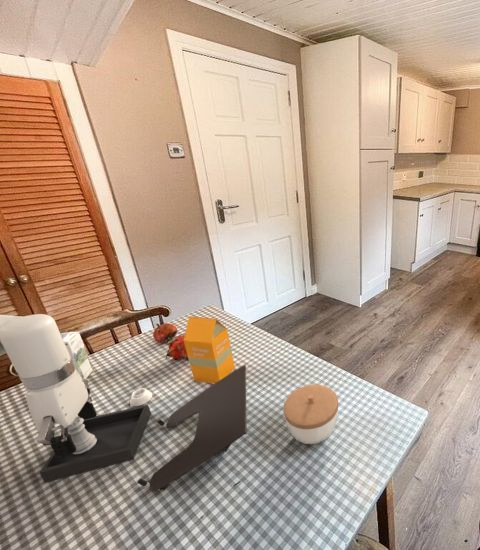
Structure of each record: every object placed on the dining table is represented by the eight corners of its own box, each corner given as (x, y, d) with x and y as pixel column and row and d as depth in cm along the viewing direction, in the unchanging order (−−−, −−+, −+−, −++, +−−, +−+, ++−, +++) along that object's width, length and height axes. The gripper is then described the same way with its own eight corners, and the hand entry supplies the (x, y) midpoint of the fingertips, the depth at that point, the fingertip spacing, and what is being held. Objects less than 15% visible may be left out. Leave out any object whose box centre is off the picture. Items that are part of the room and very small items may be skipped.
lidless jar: (156, 396, 85) (144, 391, 86) (154, 387, 84) (141, 383, 85) (139, 409, 80) (126, 404, 82) (136, 400, 79) (123, 396, 81)
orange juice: (220, 384, 89) (207, 325, 82) (193, 381, 90) (178, 323, 83) (235, 367, 96) (224, 312, 89) (210, 364, 98) (197, 309, 90)
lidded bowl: (332, 405, 82) (330, 372, 78) (346, 444, 71) (344, 408, 67) (284, 419, 77) (279, 385, 73) (291, 463, 66) (286, 425, 62)
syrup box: (72, 373, 94) (54, 333, 88) (94, 370, 95) (78, 330, 90) (61, 386, 88) (41, 344, 83) (85, 382, 90) (67, 341, 85)
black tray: (44, 483, 62) (38, 472, 61) (77, 430, 74) (73, 421, 73) (133, 459, 67) (129, 449, 66) (151, 413, 79) (148, 404, 78)
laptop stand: (185, 429, 81) (160, 410, 77) (260, 380, 84) (240, 359, 80) (166, 518, 61) (130, 500, 57) (265, 450, 64) (239, 427, 60)
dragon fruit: (208, 350, 107) (174, 373, 99) (192, 333, 108) (157, 355, 100) (210, 339, 102) (174, 363, 93) (193, 322, 102) (156, 343, 94)
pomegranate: (184, 343, 112) (171, 322, 115) (183, 335, 107) (169, 313, 109) (162, 354, 108) (149, 332, 110) (159, 346, 102) (146, 323, 105)
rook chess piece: (100, 444, 70) (89, 418, 67) (76, 459, 67) (62, 432, 64) (93, 435, 72) (81, 409, 69) (68, 449, 69) (55, 423, 66)
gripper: (50, 352, 68) (77, 410, 74) (-7, 409, 53) (32, 475, 59) (91, 346, 70) (113, 402, 77) (47, 398, 55) (80, 463, 62)
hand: (78, 434), depth 68 cm, fingers open, 9 cm apart
